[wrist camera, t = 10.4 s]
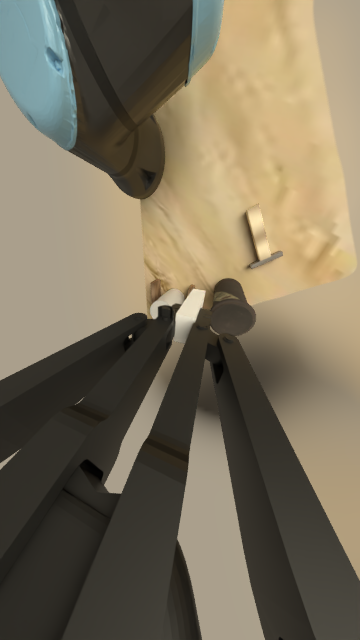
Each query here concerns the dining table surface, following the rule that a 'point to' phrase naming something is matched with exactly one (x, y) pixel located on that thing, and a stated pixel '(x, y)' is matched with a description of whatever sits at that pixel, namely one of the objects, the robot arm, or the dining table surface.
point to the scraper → (259, 237)
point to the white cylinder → (167, 301)
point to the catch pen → (157, 293)
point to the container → (231, 309)
